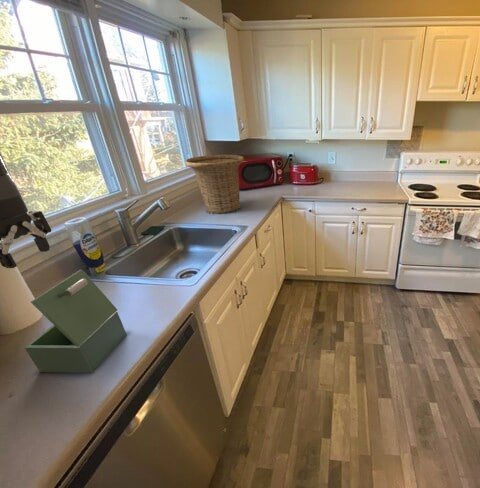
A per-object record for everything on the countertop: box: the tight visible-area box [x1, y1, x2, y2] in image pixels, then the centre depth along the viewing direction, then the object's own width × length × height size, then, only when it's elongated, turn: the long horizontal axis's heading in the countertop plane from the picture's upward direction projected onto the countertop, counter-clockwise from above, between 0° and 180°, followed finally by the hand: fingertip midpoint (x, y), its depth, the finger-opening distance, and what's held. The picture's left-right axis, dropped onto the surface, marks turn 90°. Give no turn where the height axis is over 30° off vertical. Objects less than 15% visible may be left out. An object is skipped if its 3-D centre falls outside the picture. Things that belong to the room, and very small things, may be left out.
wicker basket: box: [184, 154, 245, 215], centre depth 182 cm, size 35×35×33 cm
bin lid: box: [30, 269, 118, 347], centre depth 70 cm, size 14×14×5 cm
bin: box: [23, 311, 127, 373], centre depth 76 cm, size 14×14×9 cm
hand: (29, 258), depth 70 cm, fingers open, 8 cm apart
